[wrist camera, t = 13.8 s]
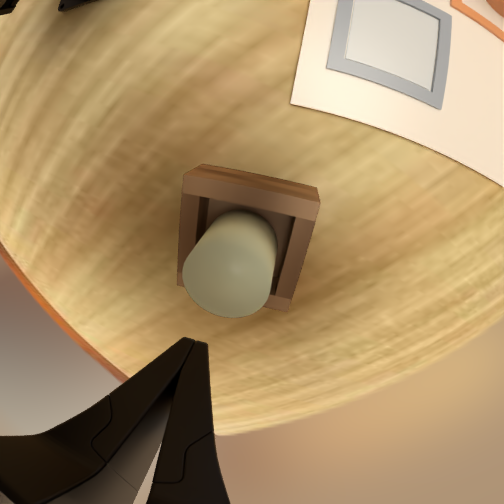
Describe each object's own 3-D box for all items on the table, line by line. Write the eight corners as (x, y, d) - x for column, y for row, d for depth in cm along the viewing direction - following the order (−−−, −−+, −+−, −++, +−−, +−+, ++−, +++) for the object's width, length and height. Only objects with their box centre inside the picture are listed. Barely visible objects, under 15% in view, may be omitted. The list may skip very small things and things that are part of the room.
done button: (204, 265, 17) (181, 305, 13) (211, 202, 15) (184, 232, 11) (269, 280, 17) (261, 325, 13) (284, 218, 15) (279, 254, 11)
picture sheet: (290, 103, 14) (290, 103, 13) (331, -115, 3) (332, -121, 2) (513, 193, 13) (520, 197, 12) (522, -22, 2) (527, -24, 1)
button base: (192, 261, 20) (176, 285, 17) (202, 164, 16) (183, 174, 14) (289, 284, 19) (287, 312, 17) (316, 187, 16) (320, 202, 13)
